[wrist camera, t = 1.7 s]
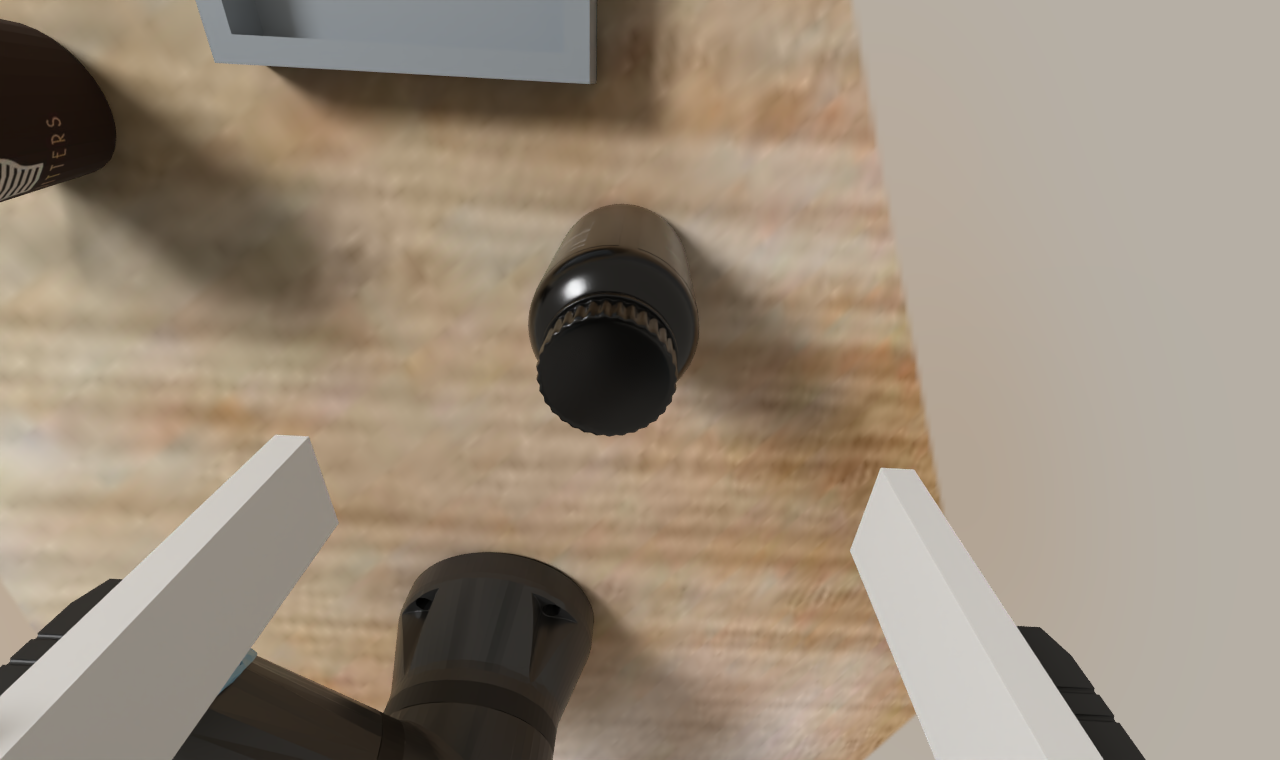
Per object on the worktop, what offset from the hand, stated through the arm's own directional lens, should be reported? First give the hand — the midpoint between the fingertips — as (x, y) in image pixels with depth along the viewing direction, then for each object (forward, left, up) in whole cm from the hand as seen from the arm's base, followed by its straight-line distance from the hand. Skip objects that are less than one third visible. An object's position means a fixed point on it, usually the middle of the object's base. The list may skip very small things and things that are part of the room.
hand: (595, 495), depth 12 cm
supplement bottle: (0, 0, -18) cm, 18 cm away
